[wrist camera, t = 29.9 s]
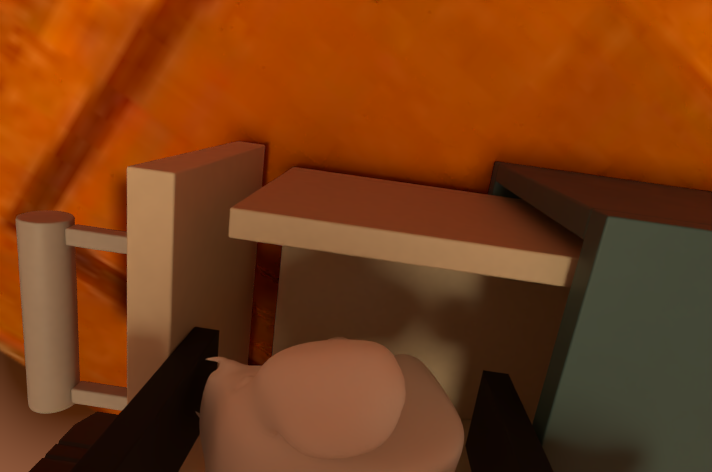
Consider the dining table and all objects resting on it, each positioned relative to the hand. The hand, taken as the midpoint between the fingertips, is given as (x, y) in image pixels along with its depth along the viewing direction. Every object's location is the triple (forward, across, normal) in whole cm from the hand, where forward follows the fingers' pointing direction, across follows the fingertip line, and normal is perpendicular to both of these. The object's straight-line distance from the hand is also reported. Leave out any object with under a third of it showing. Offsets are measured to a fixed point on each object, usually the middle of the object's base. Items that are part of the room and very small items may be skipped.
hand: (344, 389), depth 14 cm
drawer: (+7, -1, 0) cm, 7 cm away
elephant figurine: (0, 0, 0) cm, 0 cm away
